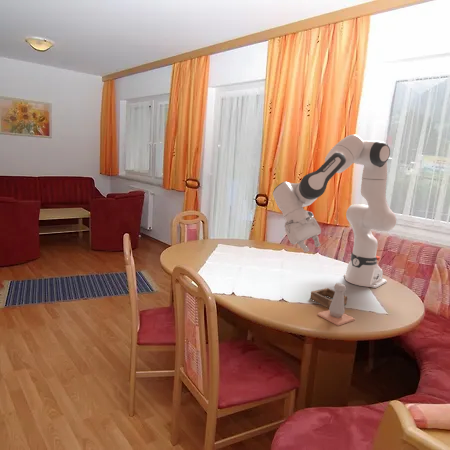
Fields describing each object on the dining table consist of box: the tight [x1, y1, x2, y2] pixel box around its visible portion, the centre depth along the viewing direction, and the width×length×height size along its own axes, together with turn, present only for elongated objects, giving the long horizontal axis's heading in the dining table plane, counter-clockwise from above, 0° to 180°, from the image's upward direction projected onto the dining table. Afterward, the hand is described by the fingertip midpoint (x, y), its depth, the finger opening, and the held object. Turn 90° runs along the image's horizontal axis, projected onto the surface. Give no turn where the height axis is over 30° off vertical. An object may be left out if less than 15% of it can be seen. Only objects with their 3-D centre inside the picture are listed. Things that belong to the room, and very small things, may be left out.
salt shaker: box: [328, 282, 347, 318], centre depth 145 cm, size 6×6×13 cm
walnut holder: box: [309, 287, 348, 309], centre depth 161 cm, size 11×11×4 cm
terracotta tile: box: [317, 309, 356, 327], centre depth 146 cm, size 10×10×1 cm
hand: (313, 248), depth 151 cm, fingers open, 8 cm apart
